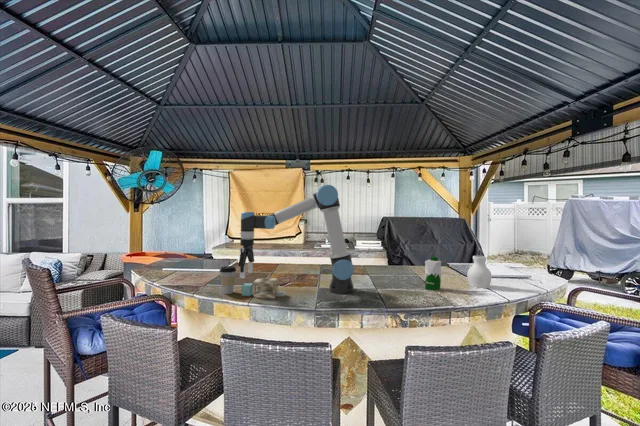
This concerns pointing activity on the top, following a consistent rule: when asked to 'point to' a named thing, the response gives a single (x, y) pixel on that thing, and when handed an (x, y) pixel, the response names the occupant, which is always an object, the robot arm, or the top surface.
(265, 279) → the tunnel
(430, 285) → the milk carton
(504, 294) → the top surface
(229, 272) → the coffee cup
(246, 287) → the block
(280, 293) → the rod
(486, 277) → the vase
